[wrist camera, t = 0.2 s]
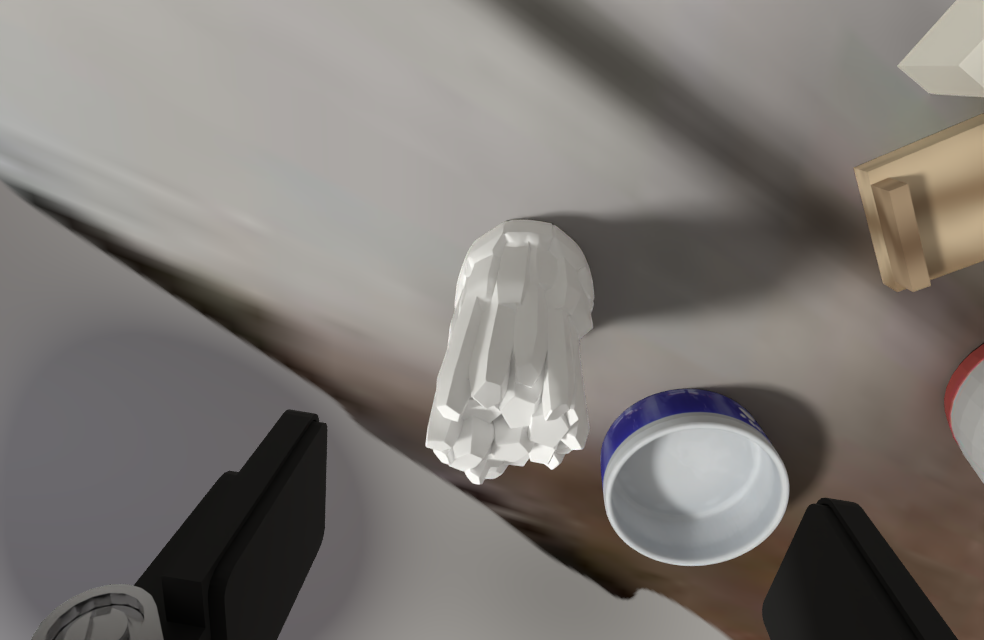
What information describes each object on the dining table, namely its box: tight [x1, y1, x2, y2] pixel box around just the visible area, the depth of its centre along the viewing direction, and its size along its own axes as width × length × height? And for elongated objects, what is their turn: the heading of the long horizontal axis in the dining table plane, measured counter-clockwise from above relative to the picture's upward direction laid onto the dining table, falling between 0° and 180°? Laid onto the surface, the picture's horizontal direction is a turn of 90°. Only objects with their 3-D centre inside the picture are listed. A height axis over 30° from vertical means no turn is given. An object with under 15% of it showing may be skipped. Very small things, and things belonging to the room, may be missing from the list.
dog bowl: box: [601, 389, 789, 566], centre depth 51 cm, size 15×15×6 cm
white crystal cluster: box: [426, 220, 595, 484], centre depth 37 cm, size 11×11×25 cm
